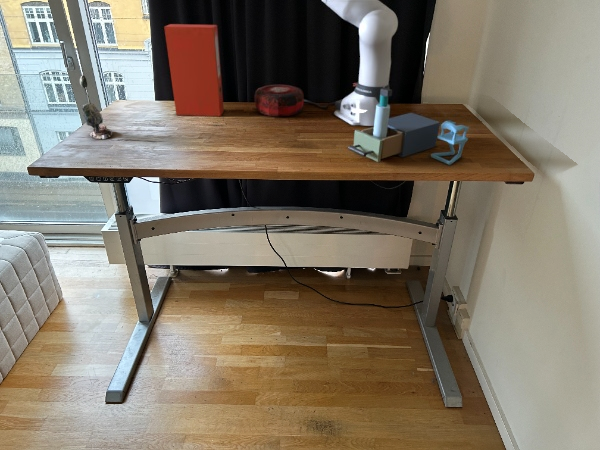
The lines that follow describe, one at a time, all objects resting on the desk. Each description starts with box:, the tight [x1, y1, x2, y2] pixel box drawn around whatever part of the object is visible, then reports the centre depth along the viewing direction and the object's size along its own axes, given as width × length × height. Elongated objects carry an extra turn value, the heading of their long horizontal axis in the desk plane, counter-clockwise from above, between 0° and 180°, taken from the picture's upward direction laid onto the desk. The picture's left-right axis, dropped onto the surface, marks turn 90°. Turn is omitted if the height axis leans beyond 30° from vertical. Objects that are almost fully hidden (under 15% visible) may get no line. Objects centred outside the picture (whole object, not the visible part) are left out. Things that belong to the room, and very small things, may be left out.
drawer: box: [347, 126, 405, 163], centre depth 137 cm, size 20×11×7 cm, turn 126°
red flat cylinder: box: [254, 84, 305, 118], centre depth 175 cm, size 20×8×20 cm
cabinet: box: [388, 112, 441, 158], centre depth 144 cm, size 16×12×8 cm
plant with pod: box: [79, 74, 113, 140], centre depth 144 cm, size 8×11×20 cm
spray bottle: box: [373, 88, 393, 140], centre depth 134 cm, size 4×4×19 cm
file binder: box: [164, 23, 225, 117], centre depth 165 cm, size 8×17×32 cm, turn 89°
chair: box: [430, 120, 470, 166], centre depth 135 cm, size 8×8×12 cm
